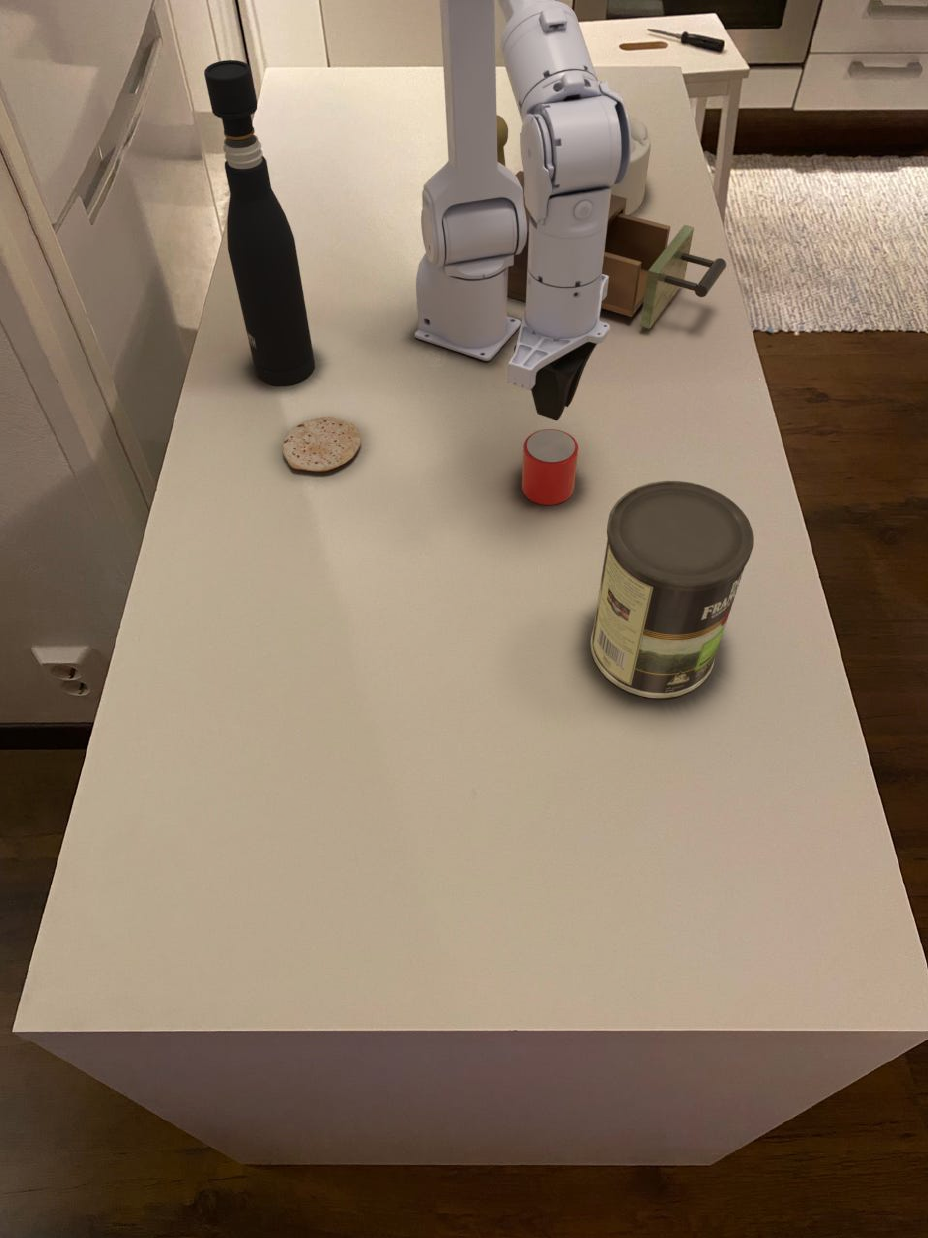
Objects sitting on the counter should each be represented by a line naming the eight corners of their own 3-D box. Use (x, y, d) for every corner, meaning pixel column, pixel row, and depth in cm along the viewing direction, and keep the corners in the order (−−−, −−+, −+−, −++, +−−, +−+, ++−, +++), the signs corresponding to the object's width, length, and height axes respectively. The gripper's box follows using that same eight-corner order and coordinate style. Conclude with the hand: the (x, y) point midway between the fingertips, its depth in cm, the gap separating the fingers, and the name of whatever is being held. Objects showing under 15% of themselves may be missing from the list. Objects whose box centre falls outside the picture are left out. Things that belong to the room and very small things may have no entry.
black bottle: (324, 355, 103) (278, 58, 80) (299, 391, 100) (243, 89, 76) (271, 344, 105) (211, 48, 81) (245, 379, 101) (173, 79, 78)
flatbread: (311, 413, 97) (309, 406, 96) (375, 434, 95) (374, 426, 94) (267, 462, 93) (265, 454, 92) (333, 485, 91) (331, 477, 90)
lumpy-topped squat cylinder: (631, 166, 129) (639, 99, 122) (653, 216, 121) (664, 147, 114) (555, 171, 128) (559, 104, 121) (573, 221, 120) (578, 153, 113)
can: (512, 493, 90) (513, 452, 86) (536, 462, 92) (538, 421, 88) (559, 512, 88) (563, 471, 84) (582, 479, 91) (587, 438, 87)
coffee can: (734, 631, 79) (775, 511, 68) (684, 720, 74) (720, 606, 63) (623, 582, 83) (645, 461, 72) (567, 664, 77) (582, 547, 66)
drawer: (724, 293, 108) (737, 237, 103) (691, 341, 103) (703, 285, 97) (585, 254, 114) (591, 199, 108) (547, 298, 108) (551, 242, 103)
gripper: (571, 331, 67) (559, 473, 78) (650, 235, 75) (628, 376, 86) (484, 304, 69) (483, 445, 80) (569, 213, 77) (558, 353, 88)
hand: (553, 408), depth 83 cm, fingers closed
